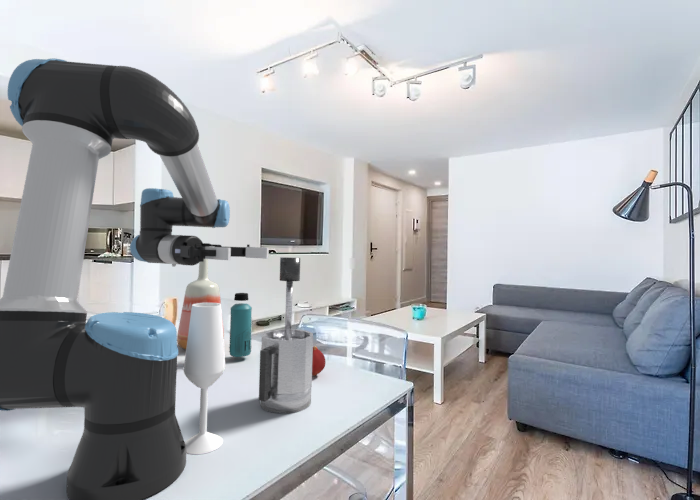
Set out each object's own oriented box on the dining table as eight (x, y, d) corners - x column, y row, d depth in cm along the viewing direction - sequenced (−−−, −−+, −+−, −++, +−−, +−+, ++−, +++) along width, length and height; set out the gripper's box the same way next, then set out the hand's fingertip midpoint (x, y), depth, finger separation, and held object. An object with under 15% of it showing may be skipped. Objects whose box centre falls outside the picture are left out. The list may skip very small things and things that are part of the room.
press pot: (284, 424, 71) (286, 347, 71) (239, 412, 76) (241, 339, 76) (319, 398, 85) (321, 332, 84) (279, 389, 89) (281, 327, 89)
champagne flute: (181, 437, 65) (185, 302, 65) (221, 431, 68) (225, 301, 68) (181, 457, 59) (185, 308, 59) (225, 449, 62) (229, 307, 62)
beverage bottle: (244, 362, 108) (246, 294, 108) (224, 360, 110) (226, 293, 110) (254, 356, 115) (256, 292, 115) (235, 354, 116) (237, 291, 116)
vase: (213, 340, 133) (215, 258, 133) (231, 349, 122) (233, 259, 122) (170, 346, 123) (173, 257, 123) (185, 356, 112) (188, 259, 112)
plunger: (293, 352, 76) (296, 258, 76) (261, 347, 80) (264, 257, 80) (312, 343, 84) (315, 258, 84) (282, 339, 87) (285, 256, 87)
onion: (307, 371, 103) (308, 342, 103) (327, 373, 102) (328, 344, 102) (300, 378, 97) (301, 347, 97) (321, 380, 96) (322, 349, 96)
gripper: (217, 263, 106) (280, 267, 97) (136, 267, 83) (209, 272, 74) (218, 236, 105) (281, 238, 97) (137, 233, 83) (210, 235, 74)
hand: (250, 253), depth 86 cm, fingers open, 13 cm apart
